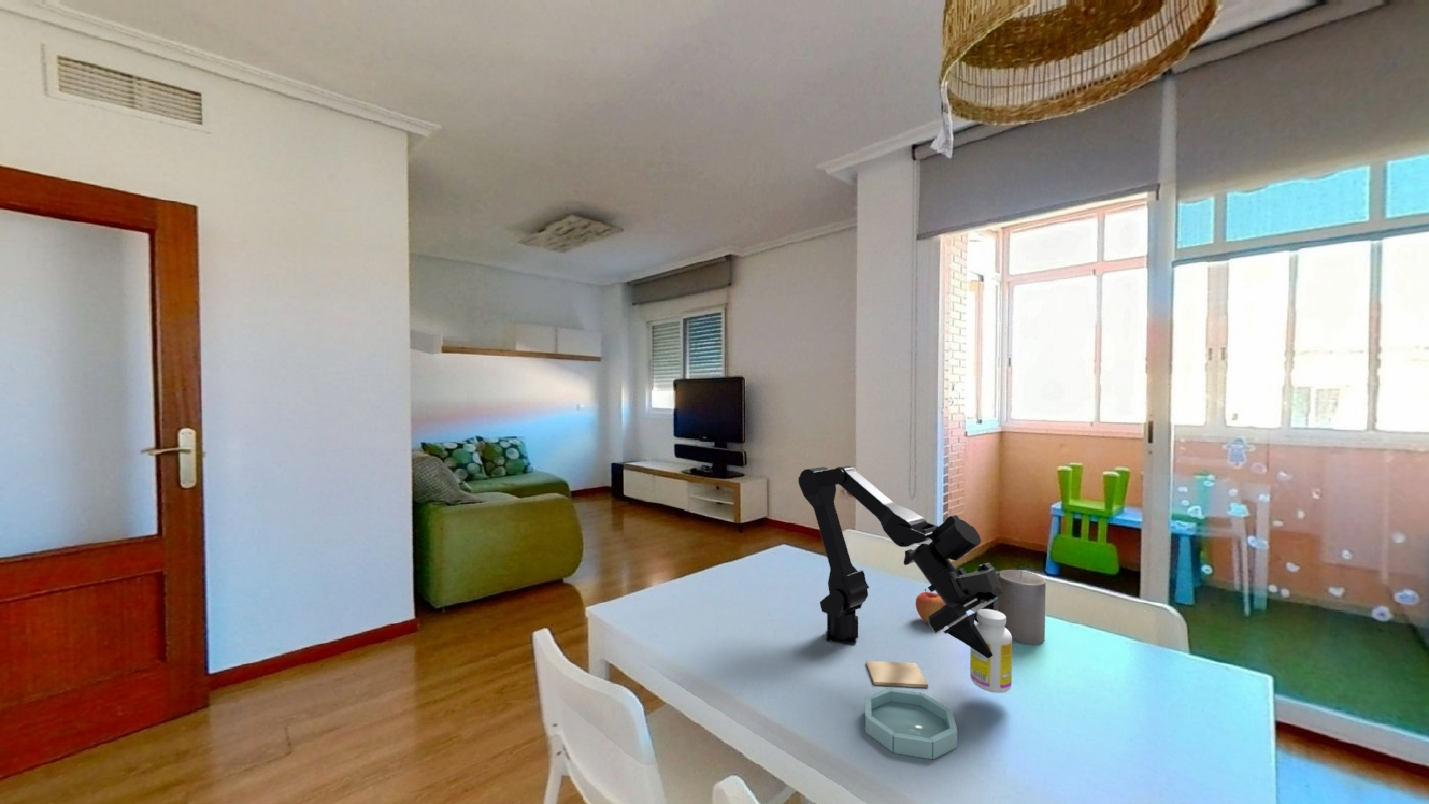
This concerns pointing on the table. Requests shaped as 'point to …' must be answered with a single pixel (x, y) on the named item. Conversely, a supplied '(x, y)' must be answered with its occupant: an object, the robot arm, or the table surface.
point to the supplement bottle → (997, 668)
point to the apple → (928, 604)
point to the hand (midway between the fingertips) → (999, 650)
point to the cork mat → (896, 674)
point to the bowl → (910, 723)
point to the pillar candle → (1023, 605)
